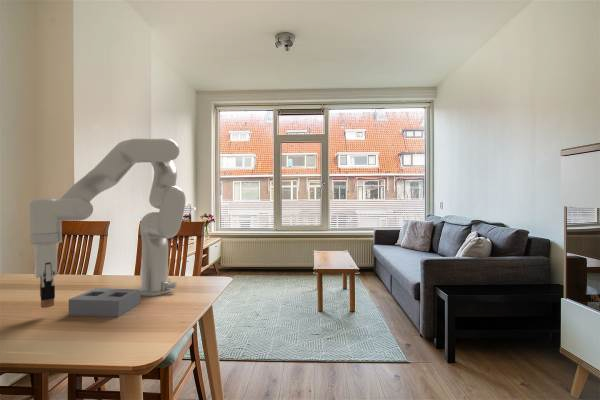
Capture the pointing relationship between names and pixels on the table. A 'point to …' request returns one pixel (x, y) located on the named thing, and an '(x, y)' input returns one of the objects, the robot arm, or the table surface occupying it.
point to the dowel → (46, 302)
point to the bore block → (104, 302)
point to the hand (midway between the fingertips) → (47, 297)
